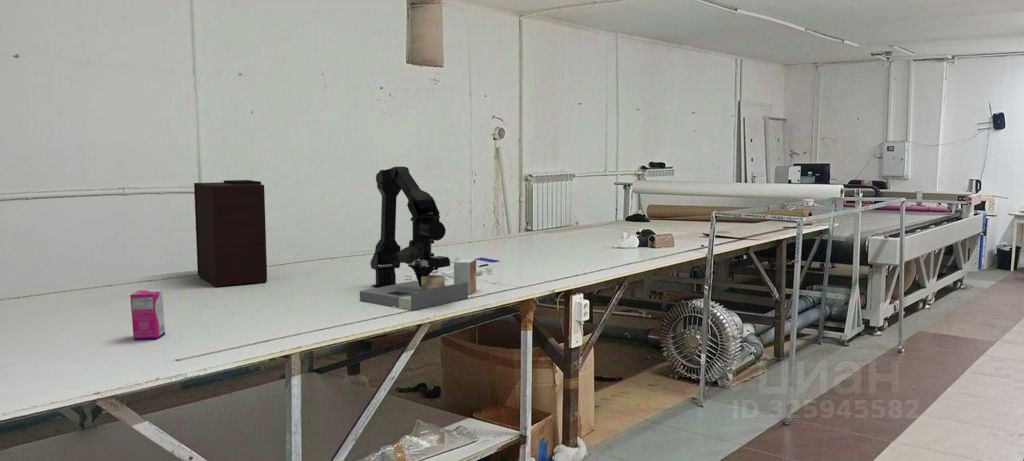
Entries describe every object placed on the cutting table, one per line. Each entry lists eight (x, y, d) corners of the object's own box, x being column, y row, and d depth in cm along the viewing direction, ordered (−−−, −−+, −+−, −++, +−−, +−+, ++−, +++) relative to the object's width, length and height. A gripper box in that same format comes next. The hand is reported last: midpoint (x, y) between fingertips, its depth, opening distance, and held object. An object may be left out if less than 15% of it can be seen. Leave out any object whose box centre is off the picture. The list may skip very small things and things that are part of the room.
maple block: (421, 293, 233) (421, 276, 233) (432, 290, 237) (432, 274, 237) (433, 294, 230) (433, 278, 230) (444, 292, 234) (444, 276, 234)
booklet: (433, 264, 313) (433, 262, 313) (481, 259, 329) (481, 257, 329) (450, 268, 304) (450, 266, 304) (499, 262, 320) (499, 260, 319)
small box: (470, 294, 247) (470, 262, 246) (453, 294, 248) (453, 261, 247) (476, 290, 255) (476, 258, 254) (460, 289, 256) (460, 258, 255)
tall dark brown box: (215, 287, 257) (211, 183, 254) (197, 276, 279) (193, 180, 275) (272, 282, 268) (269, 182, 264) (250, 272, 290) (247, 179, 286)
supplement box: (141, 334, 193) (139, 289, 192) (165, 334, 193) (163, 289, 192) (132, 340, 187) (129, 294, 186) (157, 339, 188) (155, 293, 186)
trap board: (359, 300, 236) (359, 284, 236) (415, 289, 255) (414, 274, 255) (413, 310, 222) (413, 293, 222) (468, 297, 241) (468, 282, 241)
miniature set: (479, 267, 299) (499, 276, 290) (404, 283, 276) (424, 293, 267) (480, 251, 297) (500, 260, 289) (404, 266, 274) (424, 275, 266)
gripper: (381, 236, 234) (381, 287, 236) (425, 242, 223) (425, 295, 224) (407, 233, 243) (407, 282, 245) (451, 238, 232) (451, 289, 233)
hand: (421, 287), depth 236 cm, fingers closed
